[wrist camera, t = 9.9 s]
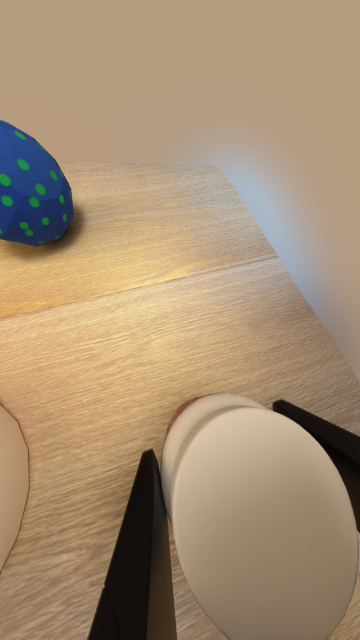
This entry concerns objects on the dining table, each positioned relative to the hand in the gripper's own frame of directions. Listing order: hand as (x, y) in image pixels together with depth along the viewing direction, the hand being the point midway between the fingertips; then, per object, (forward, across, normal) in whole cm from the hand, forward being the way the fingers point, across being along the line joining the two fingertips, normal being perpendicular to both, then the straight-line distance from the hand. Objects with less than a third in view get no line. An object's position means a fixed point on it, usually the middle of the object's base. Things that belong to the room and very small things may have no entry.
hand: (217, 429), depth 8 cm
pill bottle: (+4, 0, +6) cm, 7 cm away
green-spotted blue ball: (+32, +14, -14) cm, 38 cm away
